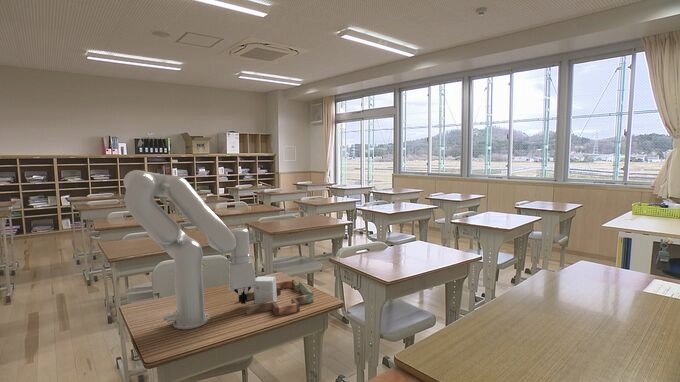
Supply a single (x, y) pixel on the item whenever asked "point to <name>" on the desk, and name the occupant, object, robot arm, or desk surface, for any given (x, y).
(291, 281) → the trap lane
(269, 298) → the small box
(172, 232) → the robot arm
